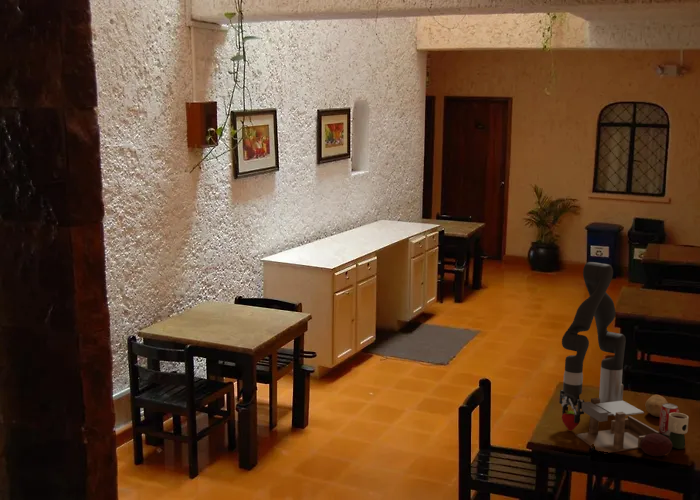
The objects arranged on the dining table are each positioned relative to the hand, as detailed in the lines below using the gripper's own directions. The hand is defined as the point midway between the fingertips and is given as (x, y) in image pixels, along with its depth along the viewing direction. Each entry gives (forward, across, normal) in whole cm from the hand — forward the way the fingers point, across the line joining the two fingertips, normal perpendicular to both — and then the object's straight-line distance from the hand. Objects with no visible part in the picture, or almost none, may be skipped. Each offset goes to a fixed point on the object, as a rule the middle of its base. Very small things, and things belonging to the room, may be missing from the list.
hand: (570, 419), depth 312 cm
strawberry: (+5, 0, 0) cm, 5 cm away
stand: (+5, -14, -12) cm, 19 cm away
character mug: (+5, -26, -31) cm, 41 cm away
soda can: (+5, -14, -37) cm, 40 cm away
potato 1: (+5, +4, -46) cm, 47 cm away
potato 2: (+6, -30, -18) cm, 35 cm away
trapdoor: (-7, -14, -9) cm, 18 cm away
